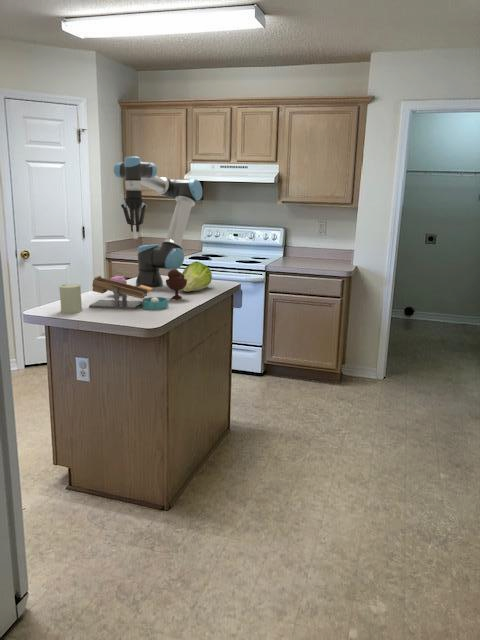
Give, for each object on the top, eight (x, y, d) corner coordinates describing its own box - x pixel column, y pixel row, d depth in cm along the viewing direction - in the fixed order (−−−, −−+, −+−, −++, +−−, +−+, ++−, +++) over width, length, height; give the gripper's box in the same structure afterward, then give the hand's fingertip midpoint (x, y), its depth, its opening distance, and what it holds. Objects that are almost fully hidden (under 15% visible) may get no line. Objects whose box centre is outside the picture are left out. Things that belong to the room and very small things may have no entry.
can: (66, 308, 235) (64, 282, 232) (85, 308, 234) (83, 283, 231) (57, 312, 226) (55, 286, 223) (77, 313, 225) (75, 286, 222)
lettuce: (202, 303, 270) (176, 304, 276) (217, 280, 289) (192, 281, 295) (194, 278, 263) (167, 280, 269) (210, 257, 282) (184, 259, 288)
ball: (150, 300, 241) (155, 294, 240) (155, 306, 241) (161, 301, 240) (147, 302, 237) (153, 296, 236) (153, 308, 238) (159, 302, 237)
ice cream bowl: (184, 301, 252) (183, 271, 248) (162, 300, 254) (161, 270, 250) (190, 297, 262) (190, 267, 258) (169, 295, 264) (169, 267, 260)
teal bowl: (147, 303, 246) (147, 296, 245) (170, 304, 244) (170, 297, 243) (139, 309, 235) (139, 301, 234) (164, 310, 233) (164, 302, 232)
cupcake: (129, 295, 264) (128, 276, 261) (112, 297, 260) (111, 277, 257) (124, 292, 271) (123, 273, 269) (108, 293, 268) (107, 274, 265)
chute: (105, 284, 254) (107, 272, 252) (151, 296, 252) (153, 284, 250) (91, 291, 237) (93, 278, 235) (140, 304, 236) (143, 290, 234)
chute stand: (100, 301, 249) (98, 282, 247) (143, 303, 247) (142, 283, 244) (89, 307, 237) (87, 287, 234) (135, 309, 234) (134, 289, 232)
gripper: (118, 189, 246) (120, 239, 252) (144, 190, 245) (145, 239, 251) (123, 189, 254) (125, 237, 259) (148, 190, 252) (150, 238, 258)
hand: (135, 238), depth 255 cm, fingers closed
